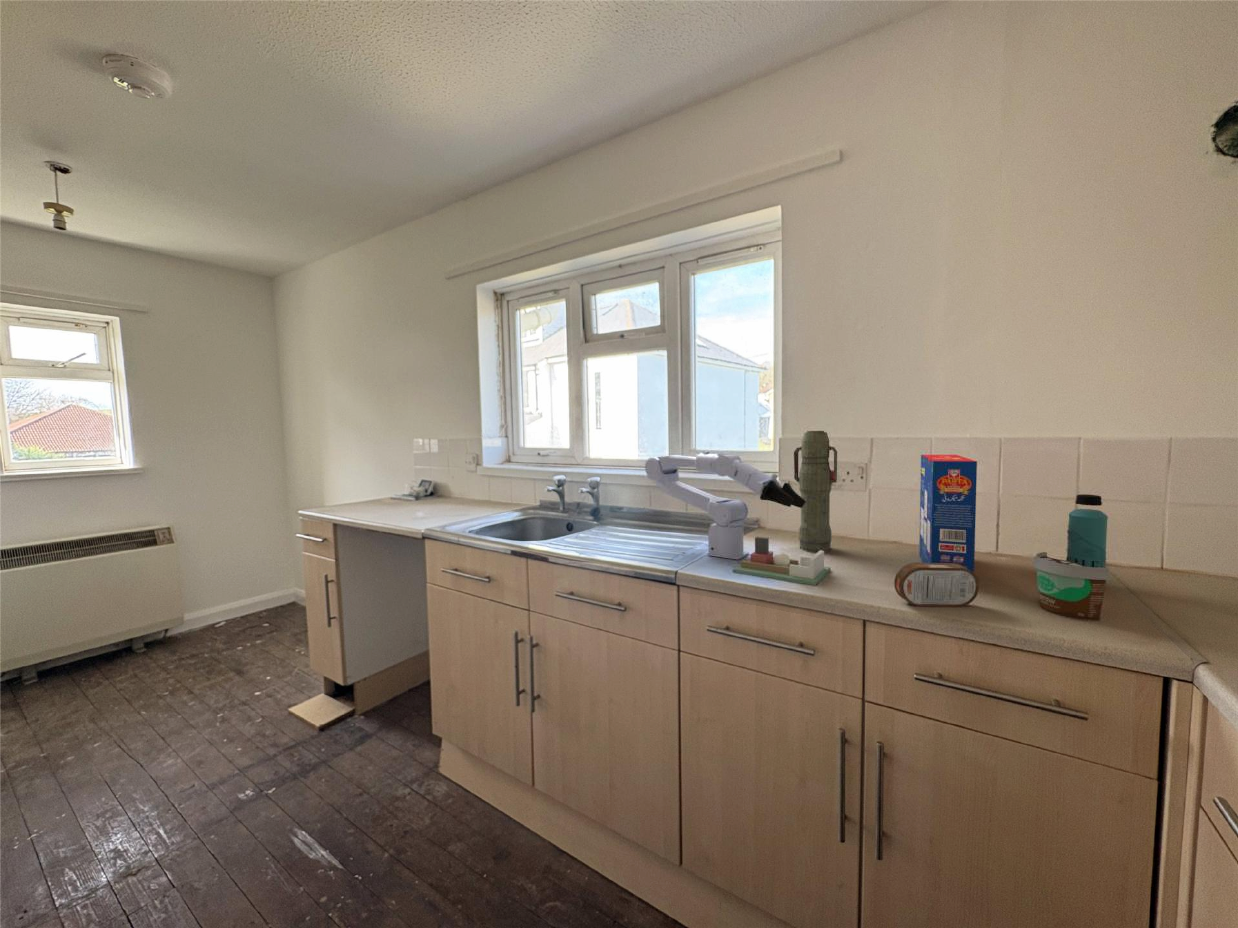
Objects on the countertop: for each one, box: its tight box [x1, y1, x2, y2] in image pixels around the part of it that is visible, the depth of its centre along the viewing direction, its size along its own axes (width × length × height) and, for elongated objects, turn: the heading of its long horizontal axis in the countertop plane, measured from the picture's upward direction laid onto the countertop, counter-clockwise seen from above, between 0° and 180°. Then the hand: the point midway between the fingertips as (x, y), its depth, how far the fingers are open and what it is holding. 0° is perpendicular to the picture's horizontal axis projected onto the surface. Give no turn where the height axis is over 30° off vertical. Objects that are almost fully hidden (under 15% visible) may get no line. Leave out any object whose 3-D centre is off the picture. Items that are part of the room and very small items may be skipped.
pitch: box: [732, 558, 831, 586], centre depth 121 cm, size 20×14×2 cm
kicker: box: [749, 536, 774, 564], centre depth 124 cm, size 4×6×7 cm
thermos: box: [793, 430, 838, 553], centre depth 142 cm, size 9×12×35 cm
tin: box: [893, 562, 980, 608], centre depth 96 cm, size 15×3×8 cm, turn 84°
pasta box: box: [918, 454, 978, 574], centre depth 119 cm, size 28×8×28 cm, turn 153°
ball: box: [773, 551, 791, 567], centre depth 121 cm, size 4×4×4 cm
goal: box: [789, 550, 825, 579], centre depth 117 cm, size 6×10×4 cm, turn 144°
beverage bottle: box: [1065, 493, 1109, 568], centre depth 106 cm, size 6×7×20 cm
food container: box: [1031, 551, 1111, 621], centre depth 91 cm, size 12×6×10 cm, turn 5°
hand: (797, 503), depth 122 cm, fingers open, 7 cm apart
